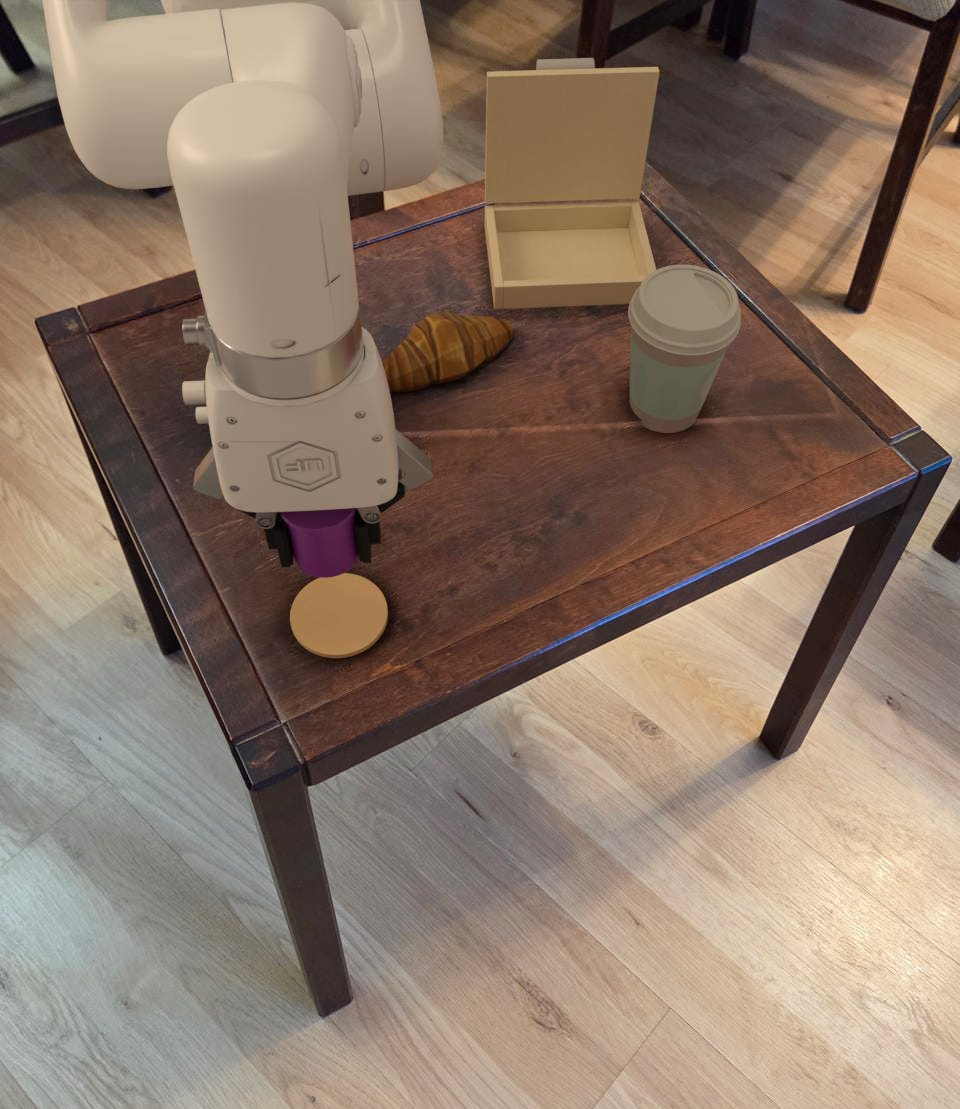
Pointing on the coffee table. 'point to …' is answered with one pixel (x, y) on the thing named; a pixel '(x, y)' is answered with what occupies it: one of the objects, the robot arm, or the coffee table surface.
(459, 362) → the croissant
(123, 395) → the coffee table surface
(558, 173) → the box lid
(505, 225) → the shallow wooden crate
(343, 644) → the coaster
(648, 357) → the coffee cup
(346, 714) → the coffee table surface
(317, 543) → the coffee pod
